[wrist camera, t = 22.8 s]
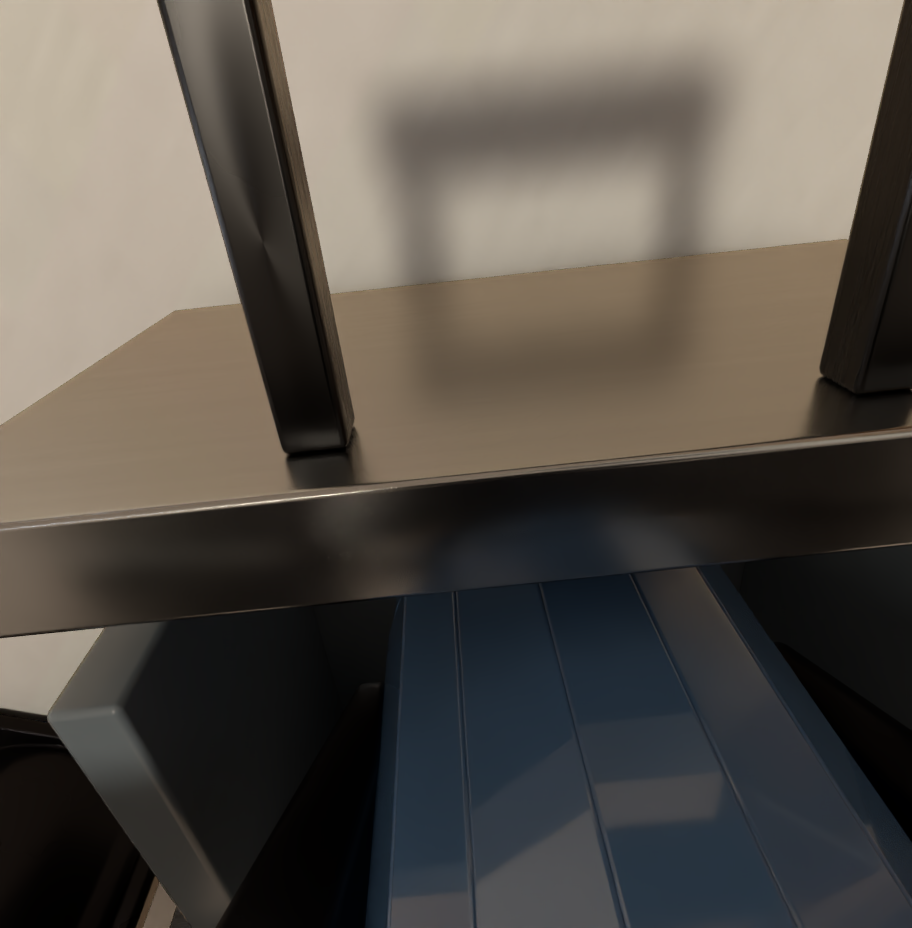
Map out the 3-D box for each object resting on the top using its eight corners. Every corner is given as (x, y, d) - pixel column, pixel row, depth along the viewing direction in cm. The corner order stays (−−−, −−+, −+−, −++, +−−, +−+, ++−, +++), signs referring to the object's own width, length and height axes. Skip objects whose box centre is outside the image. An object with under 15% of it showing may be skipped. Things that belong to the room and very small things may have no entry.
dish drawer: (58, -26, 8) (-1072, -546, 2) (929, -123, 8) (2559, -989, 2) (314, 729, 17) (247, 1076, 11) (744, 686, 17) (934, 1011, 10)
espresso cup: (368, 502, 8) (283, 1002, 3) (734, 464, 8) (1169, 918, 3) (415, 734, 11) (405, 1202, 6) (693, 706, 11) (905, 1156, 6)
